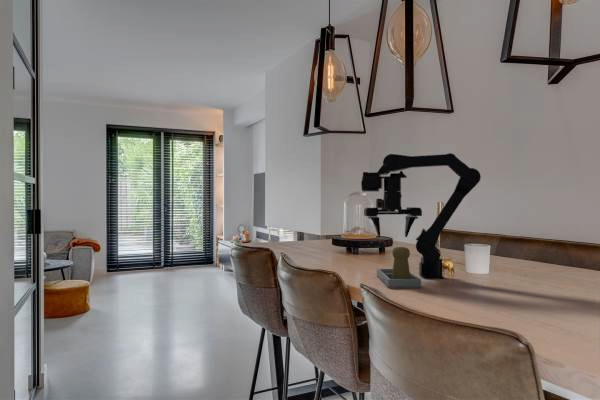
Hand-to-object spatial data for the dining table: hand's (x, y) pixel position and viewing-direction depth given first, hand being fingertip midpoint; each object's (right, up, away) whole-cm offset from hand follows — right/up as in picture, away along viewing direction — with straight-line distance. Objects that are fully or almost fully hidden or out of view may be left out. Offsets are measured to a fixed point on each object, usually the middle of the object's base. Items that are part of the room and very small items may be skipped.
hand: (392, 237), depth 143 cm
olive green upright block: (-1, -13, -15) cm, 20 cm away
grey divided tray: (-1, -13, -11) cm, 17 cm away
